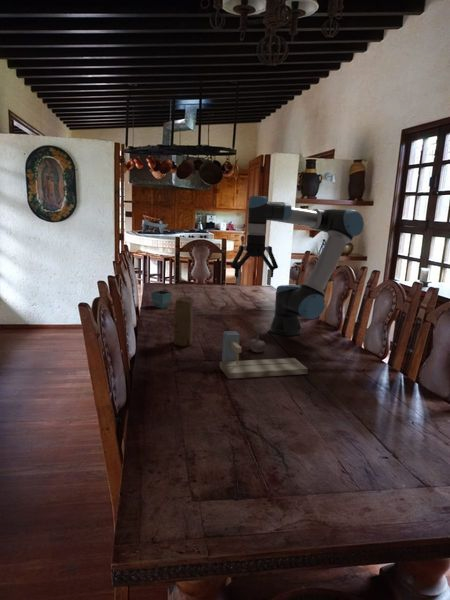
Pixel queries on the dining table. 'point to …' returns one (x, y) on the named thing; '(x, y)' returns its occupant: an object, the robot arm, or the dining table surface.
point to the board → (262, 368)
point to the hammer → (231, 346)
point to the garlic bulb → (257, 344)
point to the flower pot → (161, 298)
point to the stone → (183, 321)
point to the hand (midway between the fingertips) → (253, 285)
